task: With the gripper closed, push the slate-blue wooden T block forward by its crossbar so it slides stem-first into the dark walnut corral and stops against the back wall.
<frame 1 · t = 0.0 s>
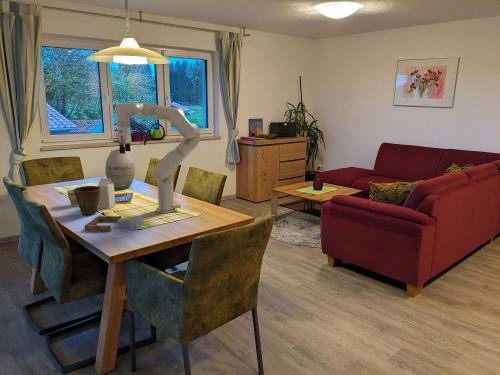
hand: (125, 152, 242), 37 cm above the table, tool pointing down, fingers open, 9 cm apart
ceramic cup: (79, 205, 260), on the table
corral: (106, 226, 219), on the table
milk carton: (107, 207, 256), on the table
plant pot: (89, 214, 241), on the table
t block: (136, 226, 218), on the table
vase: (121, 188, 309), on the table
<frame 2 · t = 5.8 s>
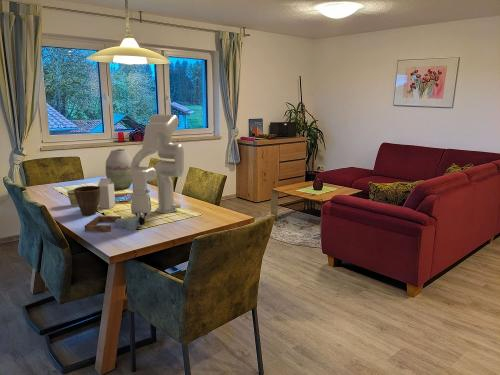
hand: (142, 224, 218), 1 cm above the table, tool pointing down, fingers closed
t block: (134, 226, 218), on the table, touching gripper
everything else where it was.
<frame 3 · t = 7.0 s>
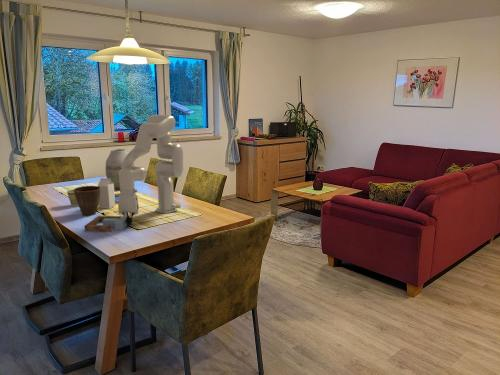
hand: (129, 224, 218), 1 cm above the table, tool pointing down, fingers closed
t block: (122, 226, 218), on the table, touching gripper
everything else where it was.
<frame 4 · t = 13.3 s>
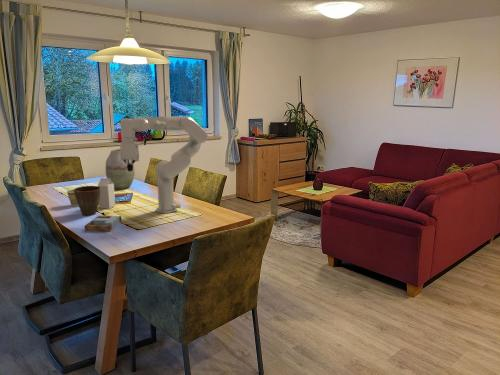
hand: (130, 170, 234), 27 cm above the table, tool pointing down, fingers closed
t block: (112, 226, 219), on the table
everything else where it was.
at the end: t block 0.1 cm from the target spot, on the table; t block moved 13.5 cm from its start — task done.
